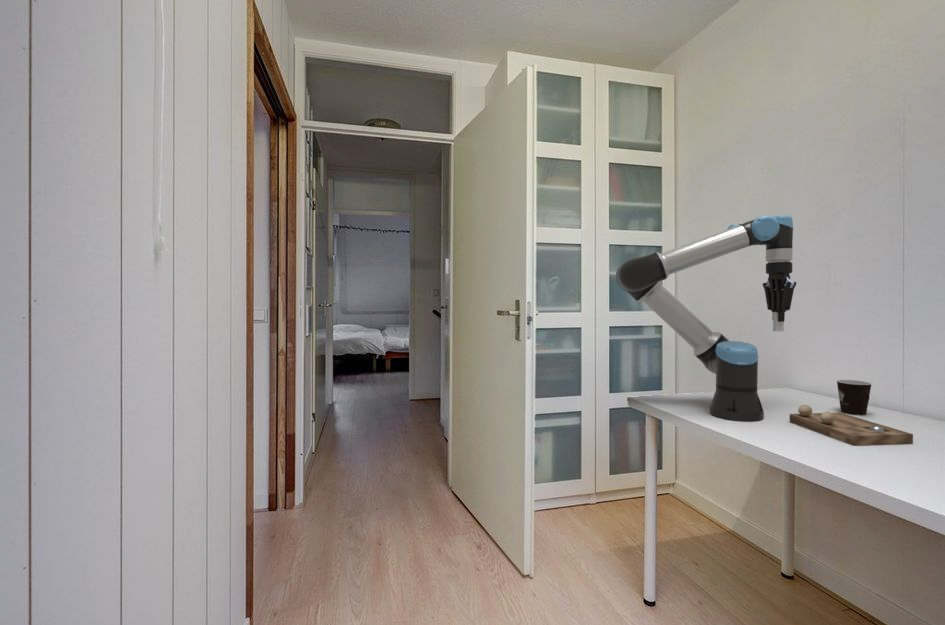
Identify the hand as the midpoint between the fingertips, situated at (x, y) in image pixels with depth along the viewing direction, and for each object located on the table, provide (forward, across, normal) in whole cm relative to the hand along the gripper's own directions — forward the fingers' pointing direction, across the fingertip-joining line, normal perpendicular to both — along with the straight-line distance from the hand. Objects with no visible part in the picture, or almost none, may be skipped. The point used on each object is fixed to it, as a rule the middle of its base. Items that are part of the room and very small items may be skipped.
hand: (778, 331), depth 155 cm
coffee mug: (+27, -10, -18) cm, 34 cm away
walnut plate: (+26, -28, +1) cm, 39 cm away
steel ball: (+25, -34, -2) cm, 42 cm away
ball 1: (+22, -20, +6) cm, 31 cm away
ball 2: (+22, -28, +6) cm, 36 cm away
